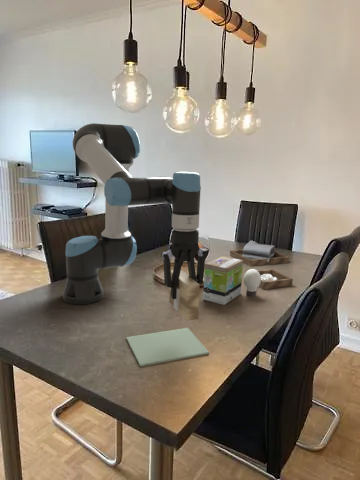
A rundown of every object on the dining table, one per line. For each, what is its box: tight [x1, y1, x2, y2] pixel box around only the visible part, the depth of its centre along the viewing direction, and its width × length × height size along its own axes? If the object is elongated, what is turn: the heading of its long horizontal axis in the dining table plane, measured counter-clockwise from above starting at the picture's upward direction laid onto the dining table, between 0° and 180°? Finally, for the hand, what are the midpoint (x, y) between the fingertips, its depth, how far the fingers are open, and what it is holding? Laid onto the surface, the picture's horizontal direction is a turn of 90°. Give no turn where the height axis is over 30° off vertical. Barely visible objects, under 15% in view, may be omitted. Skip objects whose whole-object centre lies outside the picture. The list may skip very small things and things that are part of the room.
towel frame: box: [229, 249, 290, 267], centre depth 204 cm, size 24×21×3 cm
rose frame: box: [244, 268, 293, 290], centre depth 167 cm, size 15×15×3 cm
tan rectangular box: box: [169, 269, 201, 322], centre depth 107 cm, size 4×14×10 cm, turn 21°
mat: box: [125, 327, 210, 367], centre depth 109 cm, size 20×16×1 cm
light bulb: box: [243, 268, 261, 298], centre depth 150 cm, size 7×7×11 cm
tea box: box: [202, 255, 244, 306], centre depth 147 cm, size 15×10×15 cm
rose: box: [261, 274, 278, 281], centre depth 165 cm, size 10×4×10 cm
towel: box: [242, 239, 276, 262], centre depth 204 cm, size 15×18×8 cm
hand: (183, 307), depth 108 cm, fingers closed on tan rectangular box, 4 cm apart
